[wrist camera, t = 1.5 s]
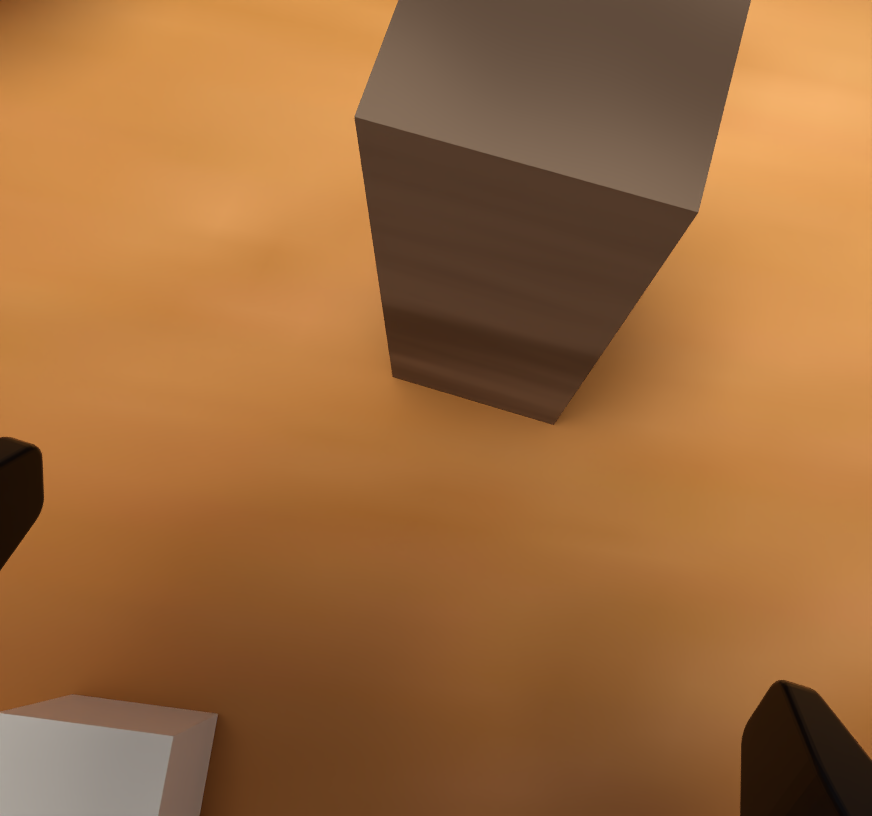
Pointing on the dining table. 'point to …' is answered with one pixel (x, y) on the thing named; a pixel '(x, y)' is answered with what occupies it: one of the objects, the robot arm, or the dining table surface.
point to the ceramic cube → (103, 758)
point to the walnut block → (534, 179)
